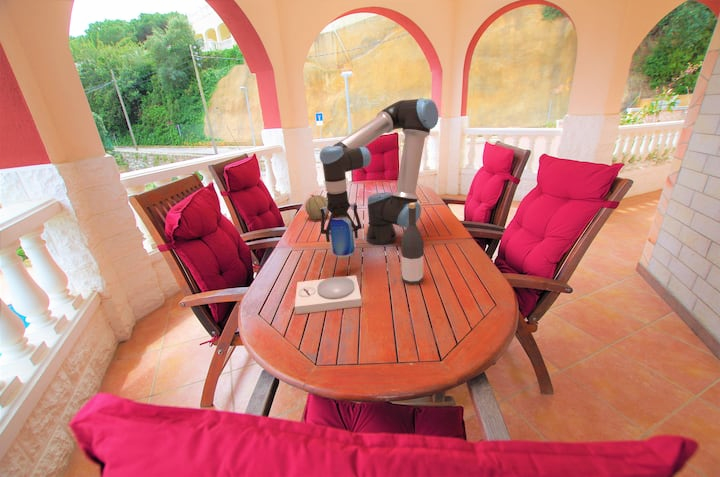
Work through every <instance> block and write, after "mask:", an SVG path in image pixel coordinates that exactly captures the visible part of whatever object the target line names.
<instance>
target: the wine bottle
mask: <svg viewBox="0 0 720 477" xmlns="http://www.w3.org/2000/svg"><path fill="white" fill-rule="evenodd" d="M408 209H409V225H408V227H407V228H406V227H405V228H406V229H405V230H404V232H403V234H402V237H401V242H400V243H401V244H400V249H401V253H400V254H401V255H400V256H401V262H400V263H401V280H402V282H403V283H404V284H407V285H409V286H412V285H413V286H414V285H420V284H421V283H422V282H423V281H424V251H425V250H424V246H425V245H424V244H425V243H424V240H423V236H422V233H421V231H420V230H419V227H418V226H417V223H416V207H415V203H410V204H409V208H408Z"/></svg>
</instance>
